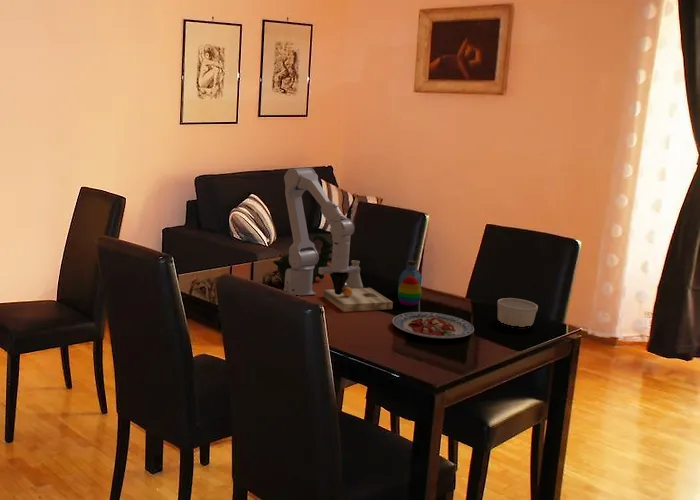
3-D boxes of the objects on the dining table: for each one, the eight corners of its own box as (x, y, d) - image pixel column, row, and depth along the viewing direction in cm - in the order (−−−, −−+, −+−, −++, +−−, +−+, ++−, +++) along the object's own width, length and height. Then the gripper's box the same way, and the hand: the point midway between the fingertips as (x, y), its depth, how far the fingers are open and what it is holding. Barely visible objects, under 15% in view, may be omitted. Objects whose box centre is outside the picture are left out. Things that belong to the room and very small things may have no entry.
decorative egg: (425, 305, 281) (427, 277, 279) (408, 308, 276) (410, 280, 274) (409, 299, 287) (411, 272, 285) (392, 302, 282) (394, 274, 280)
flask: (363, 290, 294) (365, 264, 292) (343, 289, 294) (345, 262, 292) (363, 285, 301) (365, 259, 299) (344, 284, 301) (346, 258, 299)
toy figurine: (318, 280, 311) (263, 280, 295) (325, 232, 308) (270, 230, 292) (332, 286, 303) (277, 287, 288) (339, 237, 300) (284, 235, 285)
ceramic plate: (379, 319, 262) (380, 310, 261) (449, 317, 271) (450, 308, 270) (412, 346, 238) (413, 336, 237) (488, 342, 247) (489, 332, 247)
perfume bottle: (397, 293, 295) (400, 261, 292) (404, 289, 300) (407, 258, 298) (413, 296, 292) (416, 264, 290) (420, 292, 298) (423, 261, 295)
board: (343, 311, 266) (344, 304, 266) (323, 296, 282) (323, 289, 282) (392, 309, 274) (392, 301, 273) (369, 294, 290) (370, 287, 289)
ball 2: (344, 297, 274) (345, 288, 273) (341, 295, 277) (341, 286, 276) (353, 297, 275) (354, 288, 274) (349, 294, 278) (350, 285, 277)
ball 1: (340, 292, 280) (341, 283, 279) (337, 290, 282) (337, 281, 282) (349, 292, 281) (349, 283, 280) (345, 290, 284) (346, 281, 283)
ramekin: (536, 321, 273) (539, 301, 272) (534, 332, 261) (537, 311, 259) (497, 315, 276) (499, 295, 275) (493, 325, 264) (495, 305, 262)
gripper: (325, 258, 265) (322, 297, 268) (365, 257, 271) (361, 296, 273) (317, 253, 271) (314, 292, 274) (356, 252, 277) (353, 290, 280)
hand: (337, 293), depth 274 cm, fingers closed
